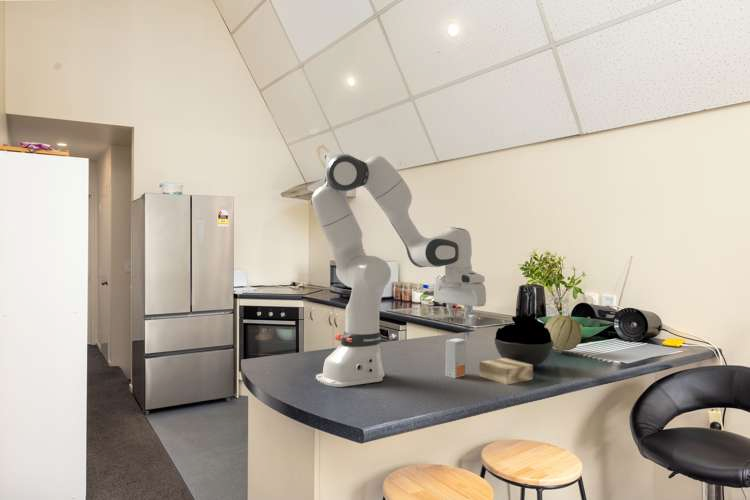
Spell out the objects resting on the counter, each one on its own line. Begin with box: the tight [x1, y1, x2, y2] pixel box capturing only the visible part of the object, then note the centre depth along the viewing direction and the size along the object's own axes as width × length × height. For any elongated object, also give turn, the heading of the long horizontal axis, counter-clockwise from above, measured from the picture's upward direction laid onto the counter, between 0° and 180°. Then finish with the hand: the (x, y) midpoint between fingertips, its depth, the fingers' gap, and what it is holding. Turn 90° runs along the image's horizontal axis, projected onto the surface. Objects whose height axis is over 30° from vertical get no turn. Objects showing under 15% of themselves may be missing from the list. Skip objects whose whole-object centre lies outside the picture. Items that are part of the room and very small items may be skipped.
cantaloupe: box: [544, 313, 583, 351], centre depth 202 cm, size 15×15×15 cm
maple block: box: [479, 357, 534, 385], centre depth 159 cm, size 12×12×5 cm
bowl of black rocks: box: [494, 312, 554, 368], centre depth 173 cm, size 20×20×19 cm
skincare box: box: [444, 337, 467, 379], centre depth 161 cm, size 6×4×12 cm
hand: (458, 317), depth 161 cm, fingers open, 4 cm apart
